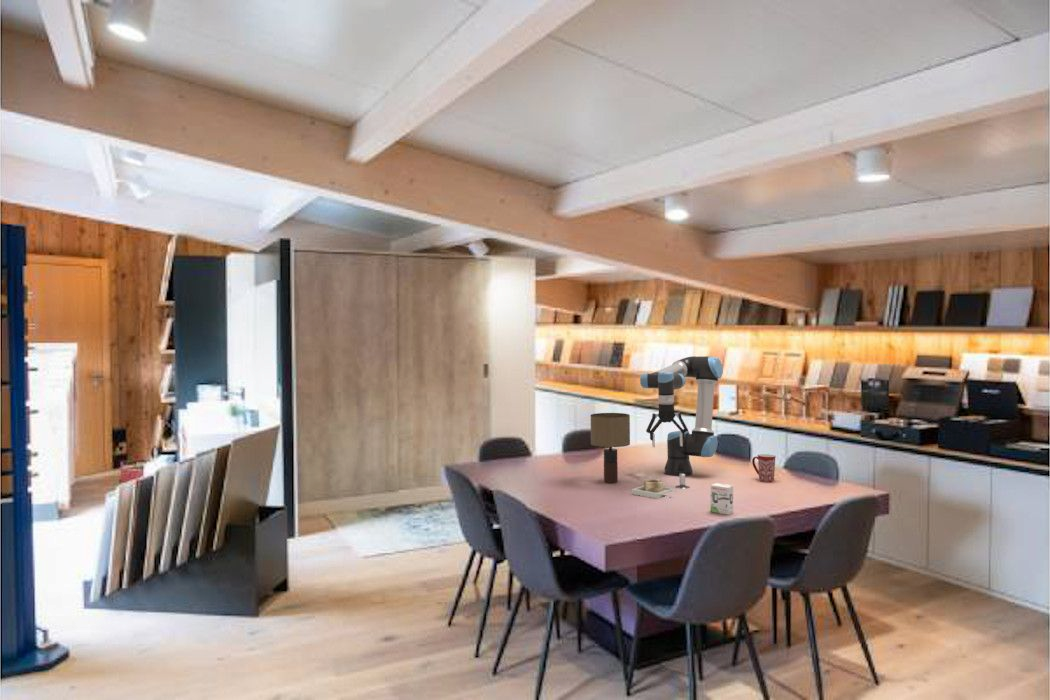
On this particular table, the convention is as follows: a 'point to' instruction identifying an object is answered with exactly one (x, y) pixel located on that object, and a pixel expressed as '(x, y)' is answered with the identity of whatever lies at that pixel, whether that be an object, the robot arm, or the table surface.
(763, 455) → the mug
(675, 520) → the table surface
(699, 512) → the table surface
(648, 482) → the tan wooden frame
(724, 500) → the ink box
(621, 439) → the lamp
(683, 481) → the grey glass rounded piece
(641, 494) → the tray
